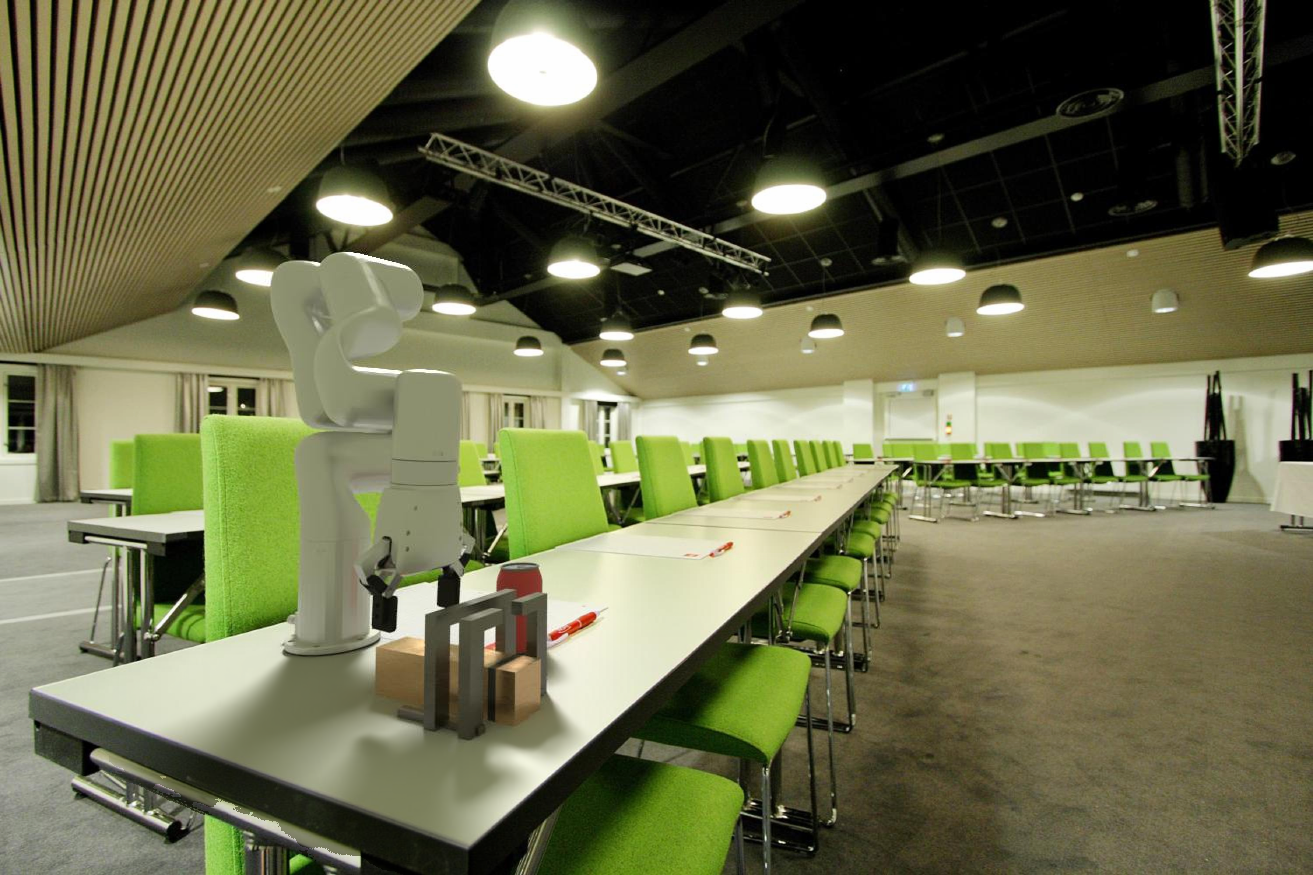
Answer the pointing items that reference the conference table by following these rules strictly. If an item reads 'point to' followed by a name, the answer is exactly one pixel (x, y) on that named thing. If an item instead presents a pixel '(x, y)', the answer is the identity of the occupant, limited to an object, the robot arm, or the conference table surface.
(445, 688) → the gray arch posts
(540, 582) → the beer can
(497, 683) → the long brass-colored rectangular prism
